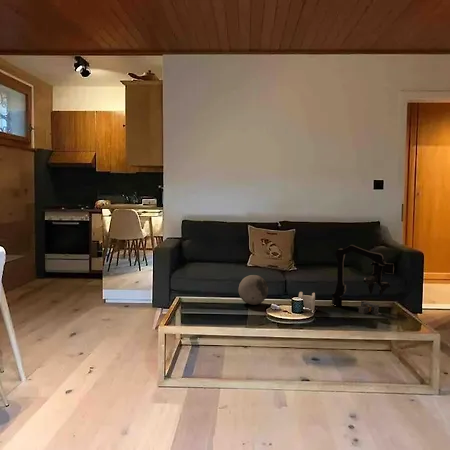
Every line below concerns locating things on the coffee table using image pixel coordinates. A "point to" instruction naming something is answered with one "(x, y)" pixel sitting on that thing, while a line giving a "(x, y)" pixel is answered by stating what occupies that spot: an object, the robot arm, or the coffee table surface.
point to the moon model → (253, 289)
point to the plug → (364, 309)
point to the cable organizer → (308, 300)
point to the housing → (373, 307)
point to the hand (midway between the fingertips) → (375, 295)
